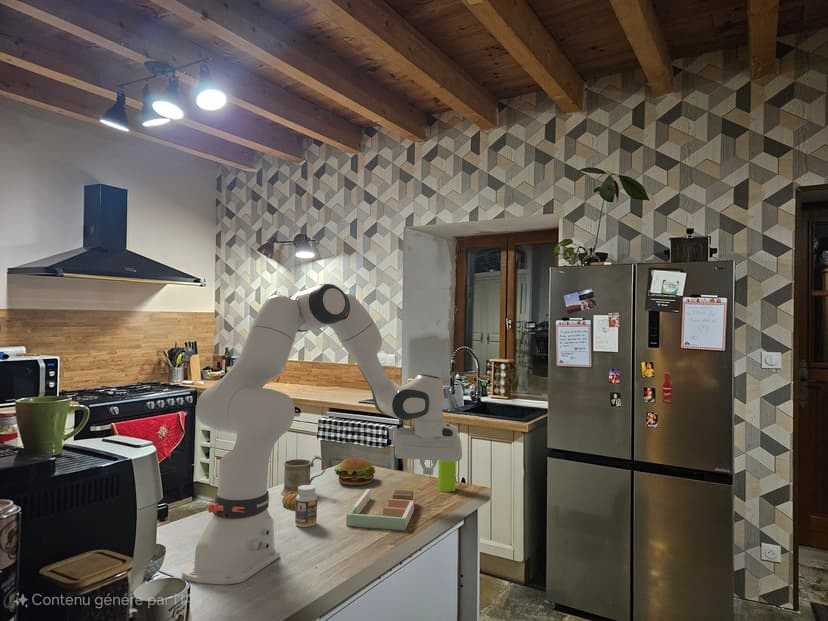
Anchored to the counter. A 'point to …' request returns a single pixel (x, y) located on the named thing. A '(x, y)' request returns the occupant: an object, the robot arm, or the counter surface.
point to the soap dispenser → (446, 476)
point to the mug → (298, 474)
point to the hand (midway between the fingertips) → (428, 474)
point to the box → (392, 516)
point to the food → (355, 471)
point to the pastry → (290, 500)
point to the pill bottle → (306, 506)
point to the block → (403, 494)
